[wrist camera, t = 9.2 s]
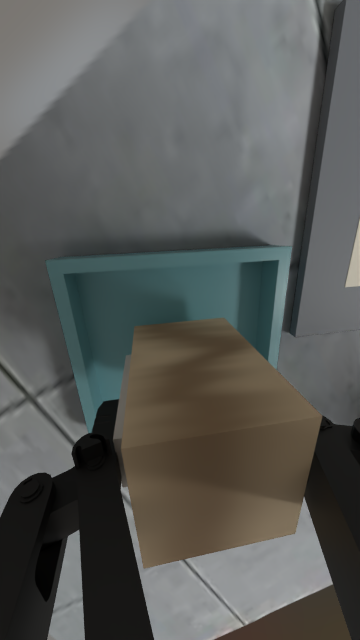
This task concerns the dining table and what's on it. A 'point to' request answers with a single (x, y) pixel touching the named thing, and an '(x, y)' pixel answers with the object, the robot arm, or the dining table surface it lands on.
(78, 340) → the tray
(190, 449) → the wooden block
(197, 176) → the dining table surface
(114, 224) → the dining table surface
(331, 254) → the board
